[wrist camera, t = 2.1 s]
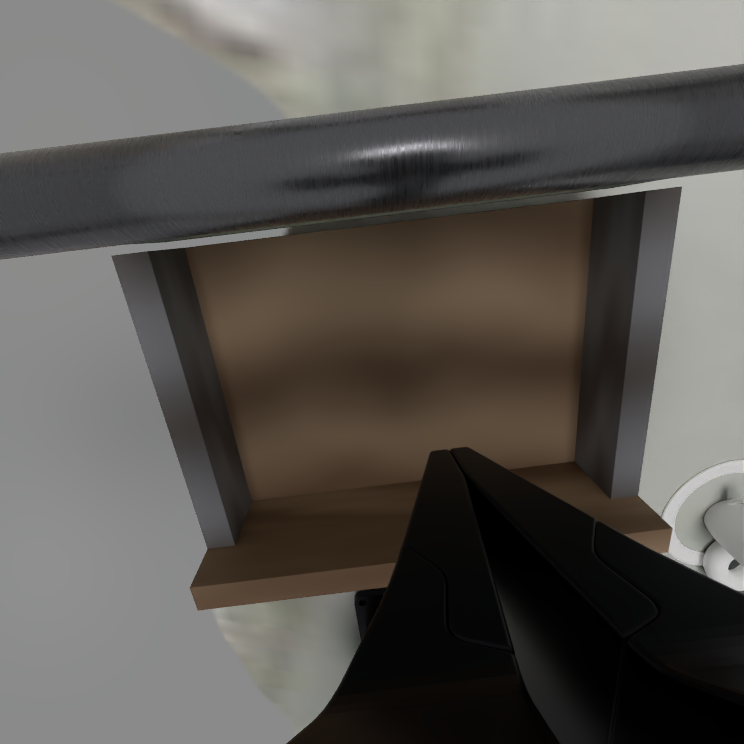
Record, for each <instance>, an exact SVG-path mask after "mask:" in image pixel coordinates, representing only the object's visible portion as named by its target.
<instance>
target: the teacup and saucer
mask: <svg viewBox="0 0 744 744" xmlns="http://www.w3.org/2000/svg"><path fill="white" fill-rule="evenodd" d="M731 473H744V459H741V460H732V461H727V462H723V463H720V464H717V465H714V466H712V467H710V468H707V469H705V470H703V471H702V472H700V473H698V474H697V475H695V476H694V477H692V478H691V479H689V480H688V481H687V482H686V483H684V484H683V485H682V486H681V487H680V488H679V489H678V490H677V491H676V492H675V493H674V495H673V496H672V497H671V499H670V500H669V502H668V503H667V505H666V507H665V509H664V511H663V513H662V516H661V518H662V519H663V520H664V521H666V522H667V523H668V524H669V525H670V526H671V527H672V528H673V529H672V535H671V540H670V545H669V551H668V553H669V554H670V555H671V556H673V557H674V558H675V559H677V560H679V561H681V562H684V563H687V564H691V565H699V566H704V570H705V572H706V574H707V576H708V577H709V578H711V579H713V580H715V581H718V582H720V583H722V584H724V585H726V586H728V587H730V588H732V589H734V590H736V591H743V590H744V505H743V504H740V503H744V498H735V499H731V500H724V501H720V502H718V503H716V504H714V505H713V506H711V507H710V508H709V509H708V510H707V512H706V513H705V516H704V523H705V525H706V527H707V529H708V531H709V532H710V534H711V535H712V536H713V537H714V538H715V540H716V541H715V542H713V543H712V544H711V545H710V546H709V547H708V549H707V550H706V552H705V553H701V552H696V551H692V550H690V549H688V548H686V547H685V546H683V545H682V544H681V543H680V541H679V540H678V538H677V536H676V534H675V519H676V515H677V513H678V510H679V508H680V507H681V505H682V504H683V502H684V501H685V500H686V498H687V497H688V496H689V495H690V494H691V493H692V492H693V491H695V490H696V489H697V488H698V487H700V486H701V485H703V484H704V483H706V482H708V481H710V480H712V479H714V478H717V477H719V476H722V475H726V474H731ZM734 559H735V560H737V561H738V562H739V563H740V564H739V565H738V566H737V567H736V568H734V569H732V570H728V567H729V564H730V563H731V561H732V560H734Z"/></svg>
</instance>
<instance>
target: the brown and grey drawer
mask: <svg viewBox="0 0 744 744" xmlns="http://www.w3.org/2000/svg"><path fill="white" fill-rule="evenodd" d="M681 190H682V187H675V188H667V189H658V190H650V191H642V192H635V193H628V194H621V195H613V196H606V197H599V198H591V199H583V200H575V201H566V202H558V203H550V204H542V205H534V206H525V207H517V208H509V209H501V210H492V211H484V212H476V213H468V214H459V215H451V216H443V217H435V218H426V219H418V220H410V221H402V222H393V223H385V224H377V225H369V226H361V227H352V228H344V229H336V230H328V231H319V232H311V233H303V234H295V235H286V236H278V237H271V238H262V239H254V240H245V241H237V242H229V243H222V244H212V245H204V246H196V247H189V248H178V249H169V250H158V251H148V252H139V253H132V254H123V255H115V256H112V259H113V262H114V265H115V268H116V271H117V274H118V277H119V280H120V283H121V286H122V289H123V292H124V295H125V298H126V301H127V304H128V307H129V310H130V314H131V317H132V320H133V323H134V326H135V328H136V332H137V335H138V338H139V341H140V344H141V347H142V350H143V353H144V356H145V359H146V362H147V365H148V368H149V371H150V374H151V378H152V381H153V384H154V387H155V390H156V392H157V396H158V399H159V402H160V405H161V408H162V411H163V414H164V417H165V420H166V423H167V426H168V429H169V432H170V435H171V438H172V441H173V445H174V448H175V450H176V454H177V457H178V460H179V463H180V466H181V469H182V472H183V475H184V478H185V481H186V484H187V487H188V490H189V493H190V496H191V499H192V502H193V505H194V509H195V511H196V514H197V517H198V521H199V524H200V527H201V530H202V533H203V536H204V539H205V542H206V545H207V548H208V550H207V552H206V554H205V556H204V558H203V560H202V563H201V565H200V567H199V569H198V571H197V574H196V576H195V578H194V580H193V582H192V584H191V587H190V589H191V593H192V595H193V598H194V601H195V604H196V606H197V609H198V610H205V609H213V608H221V607H229V606H238V605H246V604H254V603H262V602H270V601H278V600H286V599H294V598H302V597H310V596H318V595H326V594H334V593H342V592H350V591H358V590H366V589H375V588H383V587H387V586H388V584H389V581H390V579H391V576H392V573H393V570H394V567H395V564H396V562H397V558H398V555H399V552H400V549H401V546H402V543H403V539H404V536H405V533H406V530H407V526H408V523H409V520H410V516H411V513H412V510H413V506H414V503H415V500H416V497H417V493H418V490H419V487H420V483H421V480H422V477H423V473H424V470H425V467H426V464H427V460H428V457H429V454H430V452H431V451H435V450H443V449H447V450H449V451H450V449H452V448H459V447H469V448H471V449H473V450H475V451H476V452H478V453H480V454H482V455H484V456H485V457H487V458H489V459H491V460H492V461H494V462H496V463H498V464H499V465H501V466H503V467H505V468H507V469H508V470H510V471H512V472H514V473H515V474H517V475H519V476H521V477H522V478H524V479H526V480H528V481H530V482H531V483H533V484H535V485H537V486H538V487H540V488H542V489H544V490H546V491H547V492H549V493H551V494H553V495H554V496H556V497H558V498H560V499H561V500H563V501H565V502H567V503H569V504H570V505H572V506H574V507H576V508H577V509H579V510H581V511H583V512H585V513H586V514H588V515H590V516H592V517H593V518H595V519H596V520H597V522H598V521H601V522H603V523H604V524H606V525H608V526H610V527H611V528H613V529H615V530H617V531H618V532H620V533H622V534H624V535H626V536H628V537H630V538H631V539H633V540H635V541H637V542H639V543H641V544H643V545H644V546H646V547H648V548H650V549H652V550H654V551H656V552H658V553H665V552H668V551H669V545H670V540H671V535H672V529H673V528H672V527H671V526H670V525H669V524H668V523H667V522H666V521H664V520H663V519H662V518H661V517H660V516H659V515H658V514H657V513H656V512H655V511H654V510H653V509H652V508H650V507H649V506H648V505H647V504H646V503H645V502H644V501H643V500H642V499H641V498H640V497H639V496H638V491H639V484H640V477H641V470H642V463H643V456H644V449H645V442H646V435H647V428H648V421H649V414H650V407H651V400H652V393H653V386H654V379H655V372H656V365H657V358H658V351H659V344H660V337H661V330H662V323H663V316H664V309H665V302H666V295H667V288H668V281H669V274H670V267H671V260H672V253H673V246H674V239H675V232H676V225H677V218H678V211H679V204H680V197H681Z"/></svg>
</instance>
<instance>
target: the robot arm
mask: <svg viewBox="0 0 744 744" xmlns="http://www.w3.org/2000/svg"><path fill="white" fill-rule="evenodd" d="M355 609H356V615H357V620H358V626H359V632H360V637H361V643H360V645H359V647H358V649H357V651H356V653H355V655H354V657H353V659H352V661H351V663H350V665H349V667H348V669H347V671H346V673H345V675H344V677H343V679H342V681H341V683H340V685H339V687H338V689H337V690H336V692H335V694H334V695H333V697H332V699H331V700H330V701H329V703H328V704H327V706H326V707H325V708H324V710H323V711H322V712H321V713H320V714H319V715H318V717H317V718H316V719H315V720H314V721H313V722H311V723H310V724H309V725H308V726H307V727H306V728H304V729H303V730H302V731H301V732H300V733H298V734H297V735H296V736H295V737H294V738H293V739H291V740H290V741H289V742H288V743H287V744H744V594H743V593H741V592H738V591H736V590H734V589H732V588H730V587H728V586H726V585H724V584H722V583H720V582H718V581H715V580H713V579H711V578H709V577H707V576H705V575H703V574H701V573H699V572H697V571H695V570H692V569H690V568H688V567H686V566H684V565H682V564H680V563H678V562H676V561H674V560H672V559H670V558H668V557H666V556H664V555H662V554H660V553H658V552H656V551H654V550H652V549H650V548H648V547H646V546H644V545H643V544H641V543H639V542H637V541H635V540H633V539H631V538H630V537H628V536H626V535H624V534H622V533H620V532H618V531H617V530H615V529H613V528H611V527H610V526H608V525H606V524H604V523H603V522H601V521H598V522H597V520H596V519H595V518H593V517H592V516H590V515H588V514H586V513H585V512H583V511H581V510H579V509H577V508H576V507H574V506H572V505H570V504H569V503H567V502H565V501H563V500H561V499H560V498H558V497H556V496H554V495H553V494H551V493H549V492H547V491H546V490H544V489H542V488H540V487H538V486H537V485H535V484H533V483H531V482H530V481H528V480H526V479H524V478H522V477H521V476H519V475H517V474H515V473H514V472H512V471H510V470H508V469H507V468H505V467H503V466H501V465H499V464H498V463H496V462H494V461H492V460H491V459H489V458H487V457H485V456H484V455H482V454H480V453H478V452H476V451H475V450H473V449H471V448H469V447H459V448H452V449H450V451H449V450H447V449H443V450H435V451H431V452H430V454H429V457H428V460H427V464H426V467H425V470H424V473H423V477H422V480H421V483H420V487H419V490H418V493H417V497H416V500H415V503H414V506H413V510H412V513H411V516H410V520H409V523H408V526H407V530H406V533H405V536H404V539H403V543H402V546H401V549H400V552H399V555H398V558H397V562H396V564H395V567H394V570H393V573H392V576H391V579H390V581H389V584H388V586H387V588H385V589H377V590H369V591H361V592H358V593H357V594H356V595H355Z"/></svg>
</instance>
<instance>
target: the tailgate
mask: <svg viewBox="0 0 744 744" xmlns="http://www.w3.org/2000/svg"><path fill="white" fill-rule="evenodd" d="M742 169H744V64H740V65H731V66H723V67H715V68H707V69H698V70H690V71H682V72H673V73H665V74H657V75H649V76H640V77H632V78H624V79H615V80H607V81H599V82H590V83H582V84H574V85H566V86H557V87H549V88H541V89H532V90H524V91H516V92H507V93H499V94H491V95H483V96H474V97H466V98H458V99H449V100H441V101H433V102H425V103H416V104H408V105H400V106H391V107H383V108H375V109H366V110H358V111H350V112H342V113H333V114H325V115H317V116H308V117H300V118H292V119H283V120H276V121H267V122H259V123H250V124H242V125H234V126H226V127H217V128H209V129H201V130H193V131H184V132H176V133H168V134H159V135H151V136H142V137H134V138H127V139H118V140H109V141H101V142H93V143H85V144H76V145H68V146H60V147H52V148H44V149H35V150H27V151H19V152H10V153H1V154H0V259H9V258H17V257H25V256H33V255H41V254H50V253H58V252H65V251H74V250H82V249H91V248H99V247H107V246H116V245H123V244H141V243H158V242H170V241H178V240H187V239H195V238H203V237H212V236H220V235H228V234H236V233H245V232H252V231H261V230H269V229H277V228H286V227H294V226H302V225H311V224H319V223H327V222H335V221H344V220H352V219H360V218H368V217H377V216H385V215H393V214H401V213H409V212H418V211H426V210H434V209H442V208H451V207H459V206H467V205H475V204H484V203H492V202H500V201H508V200H517V199H525V198H533V197H541V196H550V195H558V194H566V193H574V192H583V191H591V190H599V189H607V188H614V187H620V186H626V185H632V184H638V183H644V182H650V181H656V180H662V179H668V178H676V177H684V176H693V175H701V174H709V173H717V172H726V171H734V170H742Z"/></svg>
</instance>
